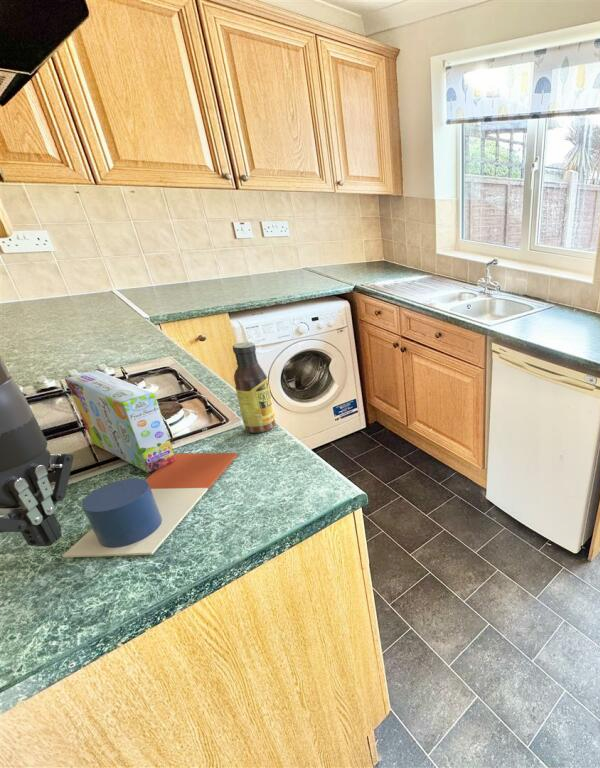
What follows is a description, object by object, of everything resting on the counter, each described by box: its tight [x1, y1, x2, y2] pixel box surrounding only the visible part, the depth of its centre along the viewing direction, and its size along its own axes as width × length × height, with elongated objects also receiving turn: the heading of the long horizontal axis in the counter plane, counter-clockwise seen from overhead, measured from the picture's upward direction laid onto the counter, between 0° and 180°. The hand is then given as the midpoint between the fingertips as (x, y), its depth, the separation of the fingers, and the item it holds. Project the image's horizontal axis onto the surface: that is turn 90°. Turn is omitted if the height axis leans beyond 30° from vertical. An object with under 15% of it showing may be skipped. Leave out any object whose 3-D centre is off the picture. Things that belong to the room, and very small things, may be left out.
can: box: [81, 478, 162, 548], centre depth 65 cm, size 8×8×7 cm
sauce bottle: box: [232, 341, 276, 434], centre depth 92 cm, size 6×6×20 cm
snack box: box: [64, 369, 176, 474], centre depth 81 cm, size 21×6×15 cm, turn 64°
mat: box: [61, 452, 238, 559], centre depth 73 cm, size 12×26×1 cm, turn 6°
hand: (48, 542), depth 53 cm, fingers closed
